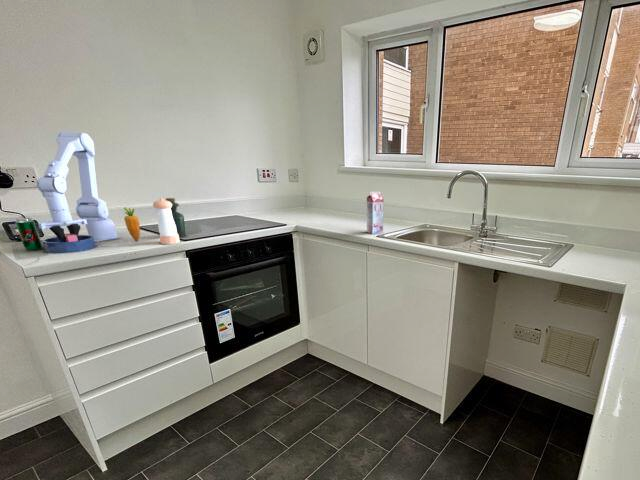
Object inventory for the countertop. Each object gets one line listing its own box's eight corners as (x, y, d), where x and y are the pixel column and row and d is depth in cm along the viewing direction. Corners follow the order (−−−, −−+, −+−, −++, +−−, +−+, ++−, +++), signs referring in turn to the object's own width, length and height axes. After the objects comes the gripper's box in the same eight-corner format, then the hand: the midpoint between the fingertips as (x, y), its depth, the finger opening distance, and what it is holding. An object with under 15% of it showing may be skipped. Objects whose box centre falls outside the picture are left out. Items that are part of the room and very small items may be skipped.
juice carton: (383, 232, 196) (383, 192, 188) (372, 233, 192) (372, 192, 184) (376, 230, 201) (377, 191, 193) (366, 231, 197) (366, 191, 189)
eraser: (71, 245, 144) (68, 233, 142) (80, 247, 142) (76, 234, 140) (62, 246, 141) (58, 234, 140) (71, 248, 139) (67, 236, 137)
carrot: (146, 240, 159) (138, 207, 153) (135, 242, 154) (126, 208, 149) (138, 239, 160) (130, 206, 155) (127, 241, 156) (118, 207, 150)
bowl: (82, 242, 151) (80, 233, 150) (104, 247, 146) (101, 237, 144) (37, 249, 138) (34, 239, 137) (58, 254, 133) (55, 244, 131)
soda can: (46, 248, 141) (36, 218, 136) (33, 251, 136) (22, 220, 131) (35, 247, 141) (24, 217, 137) (21, 250, 136) (10, 219, 132)
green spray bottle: (169, 239, 164) (161, 199, 157) (166, 236, 170) (158, 197, 163) (189, 237, 169) (182, 198, 162) (185, 234, 174) (178, 197, 168)
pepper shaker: (177, 244, 155) (168, 199, 148) (158, 244, 153) (148, 199, 146) (181, 240, 161) (173, 197, 155) (163, 241, 159) (154, 197, 153)
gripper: (40, 212, 129) (53, 248, 134) (87, 208, 141) (96, 242, 146) (30, 210, 131) (43, 246, 136) (77, 207, 144) (86, 240, 149)
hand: (70, 244), depth 141 cm, fingers closed on eraser, 3 cm apart
